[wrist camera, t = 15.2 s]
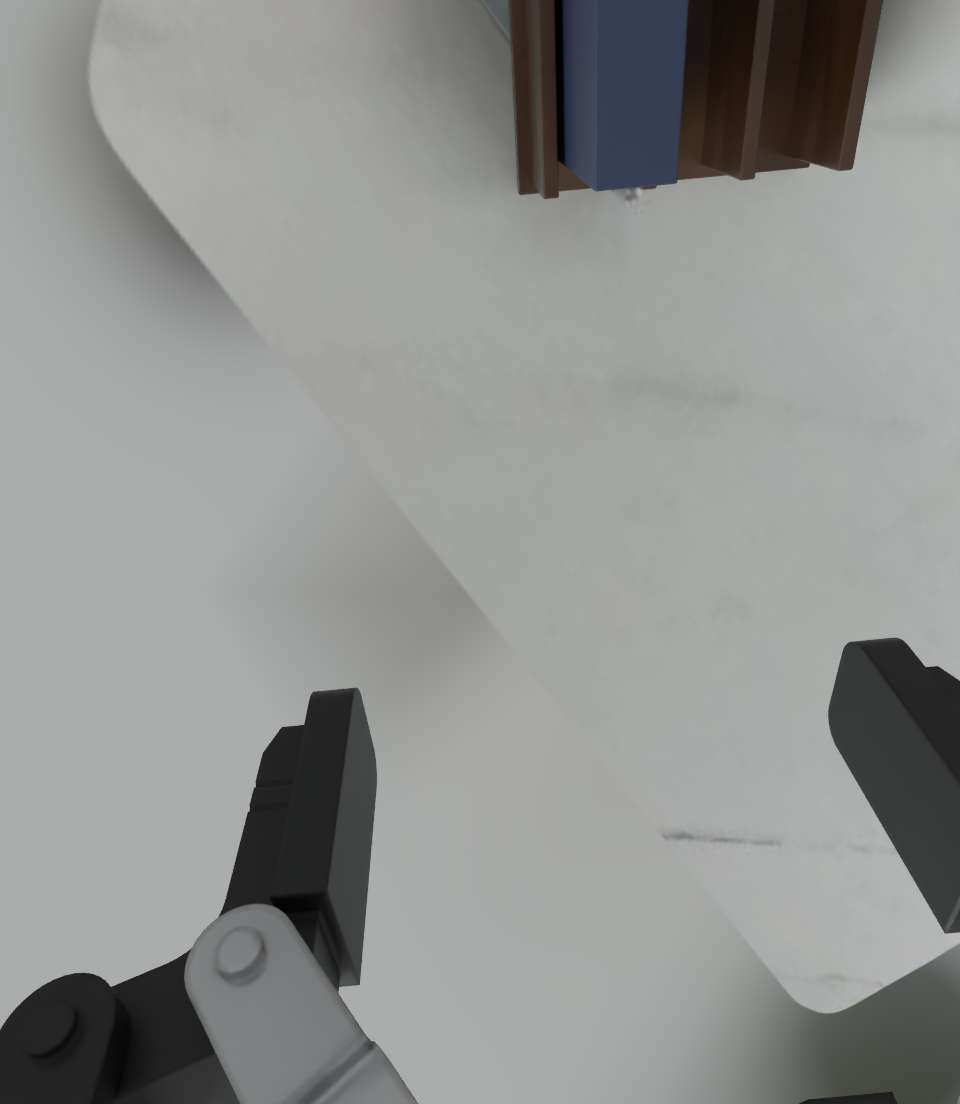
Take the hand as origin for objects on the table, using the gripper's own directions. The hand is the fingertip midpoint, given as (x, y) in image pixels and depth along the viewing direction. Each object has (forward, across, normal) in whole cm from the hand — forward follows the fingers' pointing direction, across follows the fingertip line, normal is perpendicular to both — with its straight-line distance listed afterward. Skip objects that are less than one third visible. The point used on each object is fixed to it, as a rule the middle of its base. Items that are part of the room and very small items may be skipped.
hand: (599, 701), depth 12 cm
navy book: (+27, -4, -10) cm, 29 cm away
